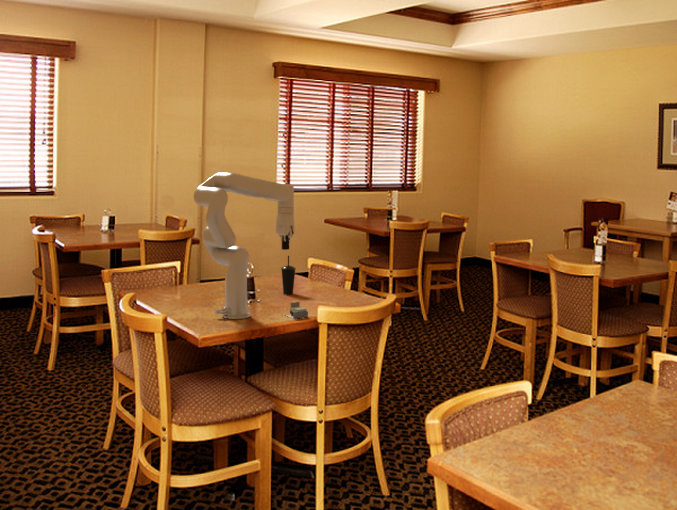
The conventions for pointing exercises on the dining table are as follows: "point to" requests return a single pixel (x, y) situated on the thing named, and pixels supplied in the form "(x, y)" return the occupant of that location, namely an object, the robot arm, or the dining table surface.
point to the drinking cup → (288, 278)
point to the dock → (299, 315)
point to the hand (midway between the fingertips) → (285, 249)
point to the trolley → (296, 308)
